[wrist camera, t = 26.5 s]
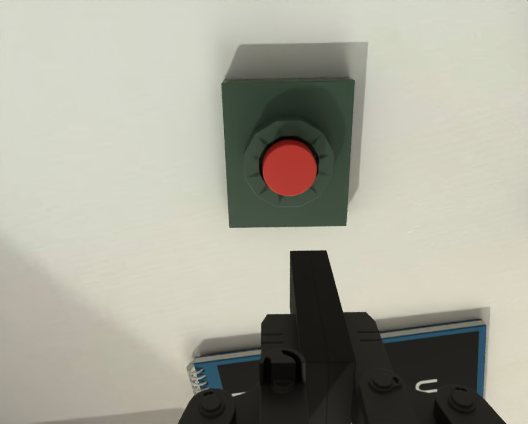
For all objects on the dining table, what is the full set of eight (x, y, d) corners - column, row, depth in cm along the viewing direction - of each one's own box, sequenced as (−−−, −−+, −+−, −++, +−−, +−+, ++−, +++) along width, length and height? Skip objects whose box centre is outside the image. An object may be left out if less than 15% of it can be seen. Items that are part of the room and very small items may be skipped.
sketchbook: (474, 465, 52) (482, 482, 50) (226, 491, 54) (224, 509, 52) (481, 317, 44) (491, 331, 42) (186, 355, 46) (182, 369, 44)
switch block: (223, 79, 35) (218, 85, 31) (349, 77, 35) (359, 83, 31) (231, 217, 40) (227, 237, 36) (342, 216, 40) (350, 235, 36)
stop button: (262, 139, 33) (262, 145, 32) (315, 138, 33) (317, 143, 32) (263, 189, 35) (263, 197, 33) (314, 188, 35) (316, 196, 33)
